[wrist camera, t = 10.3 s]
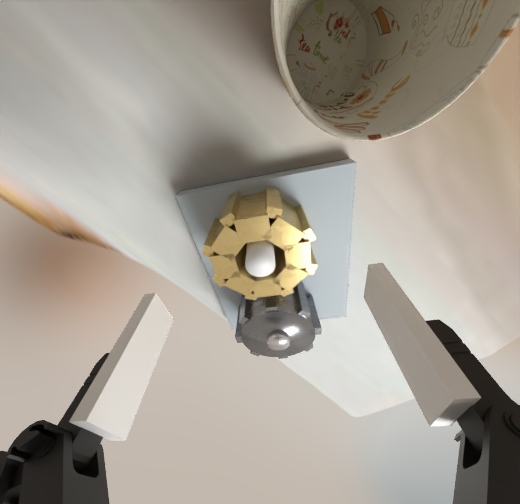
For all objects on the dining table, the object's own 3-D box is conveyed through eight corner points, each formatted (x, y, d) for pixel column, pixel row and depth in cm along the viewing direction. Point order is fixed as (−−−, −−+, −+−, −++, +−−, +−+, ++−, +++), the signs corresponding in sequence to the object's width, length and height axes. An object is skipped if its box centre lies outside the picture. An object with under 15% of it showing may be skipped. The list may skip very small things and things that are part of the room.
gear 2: (230, 280, 25) (223, 321, 20) (310, 269, 24) (322, 309, 19) (247, 328, 30) (245, 369, 25) (314, 321, 29) (324, 362, 24)
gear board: (180, 191, 20) (148, 224, 15) (350, 158, 19) (389, 181, 13) (233, 320, 32) (226, 368, 26) (342, 307, 30) (361, 356, 24)
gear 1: (203, 196, 19) (186, 221, 15) (303, 178, 18) (315, 199, 14) (229, 272, 24) (222, 306, 20) (309, 261, 23) (319, 294, 19)
